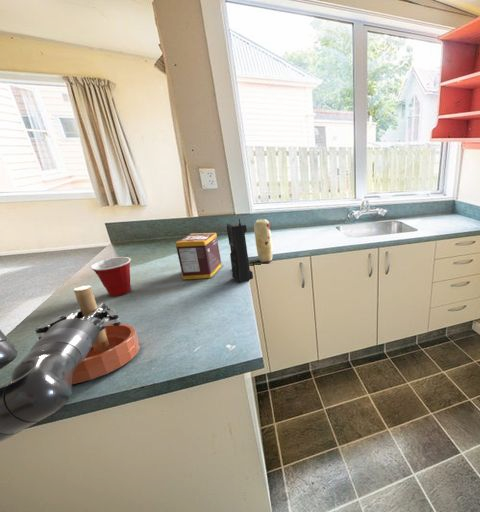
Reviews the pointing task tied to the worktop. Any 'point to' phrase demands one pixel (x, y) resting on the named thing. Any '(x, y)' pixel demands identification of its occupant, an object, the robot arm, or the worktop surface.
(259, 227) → the food model
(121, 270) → the plastic cup
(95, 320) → the robot arm
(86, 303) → the stirring stick
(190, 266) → the supplement box
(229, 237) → the portable radio
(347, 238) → the worktop surface
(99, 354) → the bowl
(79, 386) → the worktop surface
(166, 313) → the worktop surface
